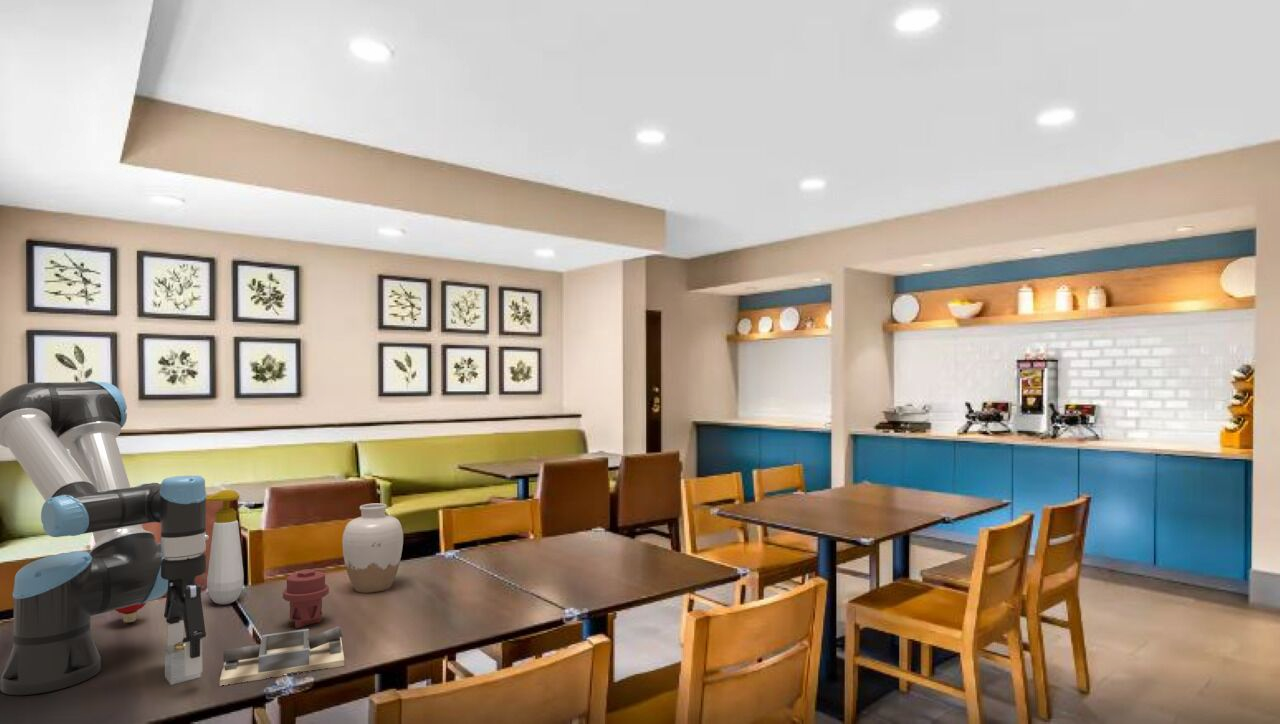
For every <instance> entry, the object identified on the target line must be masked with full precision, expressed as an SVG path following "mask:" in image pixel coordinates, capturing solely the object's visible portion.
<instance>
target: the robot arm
mask: <svg viewBox="0 0 1280 724" xmlns="http://www.w3.org/2000/svg"><path fill="white" fill-rule="evenodd" d="M127 409H128V408H127V402H126V400H125V397H124V394H123V393H122V392H121V390H120V389H119V388H118V387H117V386H116V385H114V384H111V383H109V382H100V381H99V382H97V381H93V380H91V381H89V380H88V381H84V382H83V381H82V382H78V381H77V382H76V381H75V382H74V381H73V382H70V381H69V382H66V381H65V382H63V381H62V382H42V381H41V382H27V383H24V384H20V385H16V386H14V387H12V388H10V389H9V390H7V391H5V392H4V393H3V394H2V395H0V446H2V447H4V448H8V449H9V450H10V452H11V454H12V455H13V456H14V458H15V459H16V461H17V462H18V463H19V465H20V467H21V468H22V469H23V471H24V472H25V474H26V475H27V476H28V478H29V479H30V481H31V482H32V484H33V485H34V487H35V488H36V490H37V491H38V492H39V494H40V495H41V496H42V498H43V499H44V503H42V504H43V505H42V507H41V512H40V521H41V524H42V528H43V531H44V532H45V534H46V535H47V536H50V537H52V538H61V537H70V536H71V537H75V536H80V535H86V534H90V533H92V535H93V539H94V543H95V544H94V545H93V547H92V548H91V550H90V551H89V552H88V551H83V550H79V551H78V550H76V551H70V552H66V553H64V552H62V553H59V554H53V555H48V556H46V557H42V558H38V559H36V560H33V561H32V562H29V563H27V564H26V565H24V566H22V567H21V568H19V569H18V571H17V572H16V574H15V576H14V585H13V591H12V598H13V624H12V625H13V631H12V632H13V635H12V636H13V637H12V639H13V640H12V643H13V644H12V648H11V651H10V654H9V656H8V658H7V661H6V663H5V666H4V668H3V672H2V674H1V676H0V692H1V693H3V694H5V695H9V696H10V695H11V696H27V695H37V694H43V693H48V692H49V693H50V692H54V691H59V690H62V689H66V688H68V687H72V686H75V685H78V684H81V683H83V682H85V681H88V680H89V679H91V678H93V677H94V676H96V675H97V674H98V673H99V672H100V671H101V666H102V665H101V663H102V662H101V660H102V659H101V655H100V652H99V650H98V648H97V645H96V644H95V641H94V638H93V636H92V633H91V617H93V616H96V615H100V614H103V613H104V614H105V613H108V612H112V611H116V609H120V608H124V607H128V606H132V605H136V604H143V603H145V602H146V603H147V602H150V601H153V600H156V599H160V598H161V597H163V596H164V595H165V594H166V598H165V599H166V600H165V607H164V613H163V617H164V618H165V620H166V621H165V622H166V626H167V628H166V633H167V634H166V635H167V636H166V638H167V641H166V644H167V645H166V646H170V645H174V644H176V643H178V642H181V641H182V642H183V643H185V676H190V675H194V674H197V673H201V674H202V673H203V638H206V636H207V631H206V625H205V619H204V611H203V604H202V603H203V602H202V590H201V589H202V587H201V584H197V583H196V581H195V578H196V577H199V576H202V575H204V574H205V573H206V571H207V555H206V554H205V553H204V552H205V551H206V549H207V548H206V547H207V546H206V545H207V543H206V541H208V540H209V539H210V536H209V535H208V534H207V533H206V528H207V502H206V497H208V494H207V491H206V480H205V478H204V477H202V476H201V475H179V476H177V475H176V476H170V477H166V478H164V479H162V481H161V483H158V482H150V483H141V484H139V485H137V486H133V487H132V486H131V485H130V481H129V477H128V474H127V472H126V468H125V464H124V461H123V458H122V455H121V452H120V448H119V445H118V442H117V437H118V436H119V435H120V434H121V432H122V428H123V427H124V426H125V425H126V422H127V418H128V417H127V416H128V413H127V411H126V410H127ZM68 450H69V451H68ZM151 523H159V524H160V542H159V543H157V540H156V538H155V535H154V533H153V532H152V531H148V530H145V529H144V528H143V524H144V525H145V524H151ZM184 631H185V633H184ZM184 636H185V637H184Z"/></svg>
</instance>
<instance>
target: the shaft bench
mask: <svg viewBox="0 0 1280 724" xmlns="http://www.w3.org/2000/svg"><path fill="white" fill-rule="evenodd" d="M342 637H344V636H343V631H342V629H341V625H338V626H335V627H331V628H329V629H327V630H325V631H321V632H318V633H317V634H314V635H312V636H310V629H309V628H303V629H298V630H297V629H296V630H291V631H290V630H289V631H282V632H275V633H269V634H262V635H261V640H260V644H254V645H248V646H240V647H234V648H228V649H223V658H222V659H223V666H222V669H221V673H220V676H219V677H220V678H219V687H221V686H222V685H224V686H228V684H230V685H236V684H241V682H242V683H247V681H248V682H253V681H254V682H255V681H258V680H259V681H260V680H266V678H267V679H271V678H270V677H273V678H279V677H283V676H282V675H284V674H287V673H291V672H297V671H307V670H316V669H317V670H316V671H319V670H318V669H322V670H326V669H325V668H328V669H333V668H340V667H344V666H345V655H344V650H343V647H344V646H343V643H342ZM235 683H236V684H235ZM222 687H223V686H222Z"/></svg>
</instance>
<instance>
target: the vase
mask: <svg viewBox="0 0 1280 724" xmlns="http://www.w3.org/2000/svg"><path fill="white" fill-rule="evenodd" d="M387 507H388V505H387V504H386V503H381V502H380V503H375V502H374V503H373V502H372V503H366V504H361V505H360V506H359V511H360V514H361V516H359V517H356V518H354V519H352V520H350V521H348V522H347V524H346V525H345V528H344V530H343V533H342V554H343V560H344V565H345V570H346V572H347V575H348V578H349V581H350V584H351V586H352V587H353V588H352V589H353V590H354V591H355V592H357V593H362V594H370V593H371V594H372V593H379V592H384V591H386V590H388V589H390V588H391V587H392V586H393V583H394V581H395V578H396V575H397V573H398V570H399V566H400V564H401V558H402V552H403V545H404V531H403V528H402V524H401V522H400V520H399V519H398V518H397V517H394V516H392V515H387V514H386V509H387Z"/></svg>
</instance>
